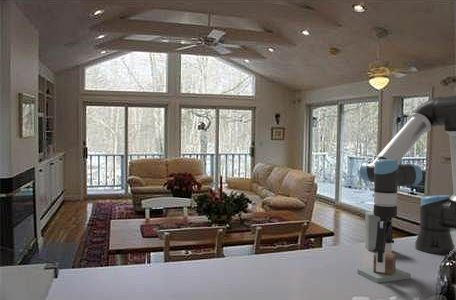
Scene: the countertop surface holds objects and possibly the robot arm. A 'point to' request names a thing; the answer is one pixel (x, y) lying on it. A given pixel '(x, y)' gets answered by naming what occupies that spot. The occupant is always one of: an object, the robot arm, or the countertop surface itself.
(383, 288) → the countertop surface
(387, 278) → the pale green flat panel
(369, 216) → the skincare box
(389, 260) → the cardboard shipping box
